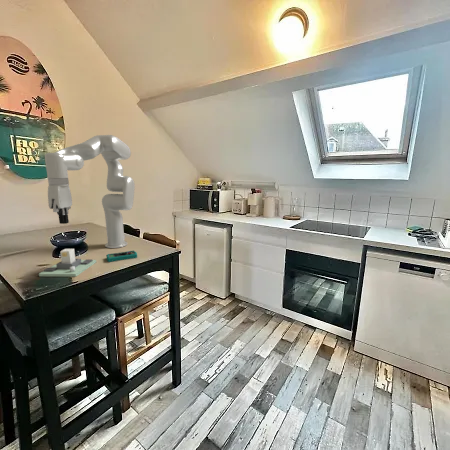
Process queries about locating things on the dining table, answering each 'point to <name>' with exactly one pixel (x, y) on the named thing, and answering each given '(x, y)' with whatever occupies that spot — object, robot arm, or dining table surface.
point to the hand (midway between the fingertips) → (64, 223)
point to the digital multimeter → (121, 256)
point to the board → (68, 268)
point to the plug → (67, 256)
